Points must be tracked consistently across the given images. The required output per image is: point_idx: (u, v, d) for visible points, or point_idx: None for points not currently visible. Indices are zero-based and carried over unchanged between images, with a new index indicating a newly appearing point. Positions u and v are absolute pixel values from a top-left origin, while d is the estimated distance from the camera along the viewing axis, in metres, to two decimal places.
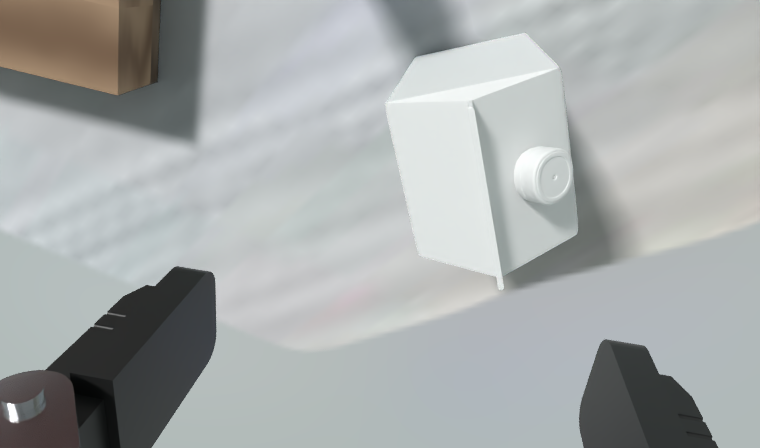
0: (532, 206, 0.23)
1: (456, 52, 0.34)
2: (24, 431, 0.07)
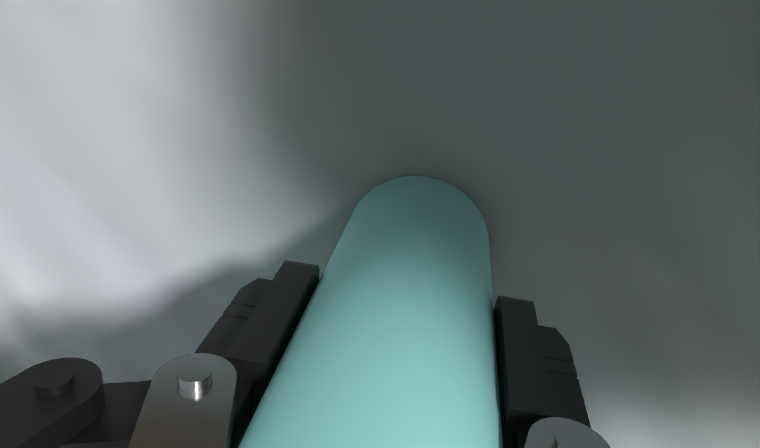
0: None
1: None
2: (188, 409, 0.08)
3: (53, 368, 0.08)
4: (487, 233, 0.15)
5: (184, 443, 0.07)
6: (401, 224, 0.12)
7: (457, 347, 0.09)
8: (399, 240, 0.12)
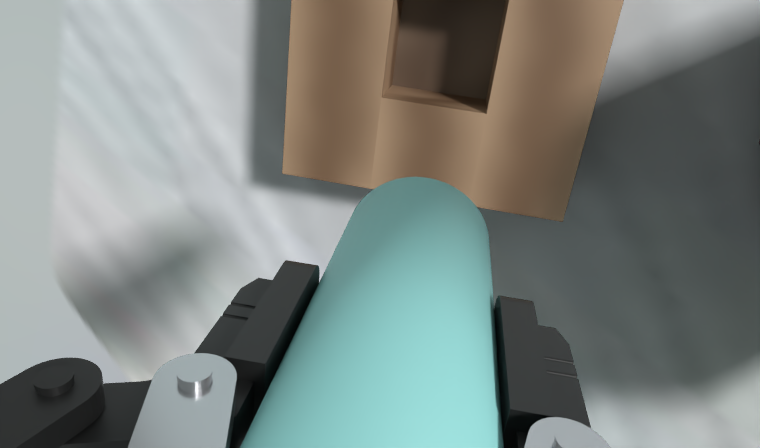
0: None
1: None
2: (188, 409, 0.08)
3: (53, 369, 0.08)
4: (487, 234, 0.15)
5: (185, 443, 0.07)
6: (402, 226, 0.12)
7: (458, 349, 0.09)
8: (399, 242, 0.12)
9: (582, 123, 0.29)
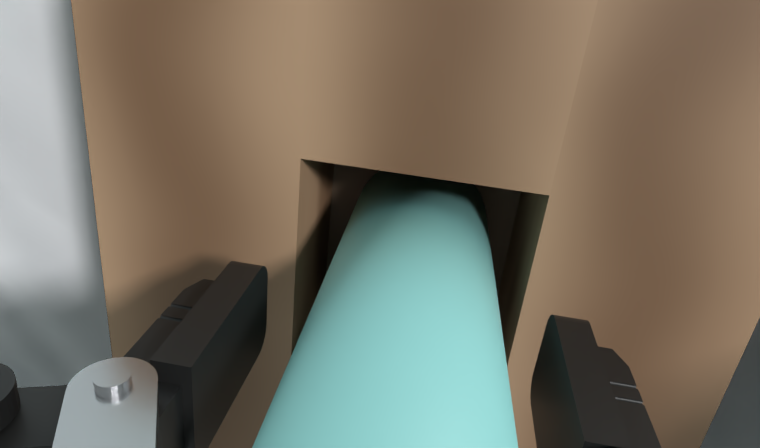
0: None
1: None
2: (110, 414, 0.08)
3: None
4: (485, 210, 0.17)
5: None
6: (411, 196, 0.14)
7: (468, 291, 0.10)
8: (410, 209, 0.13)
9: (696, 420, 0.14)
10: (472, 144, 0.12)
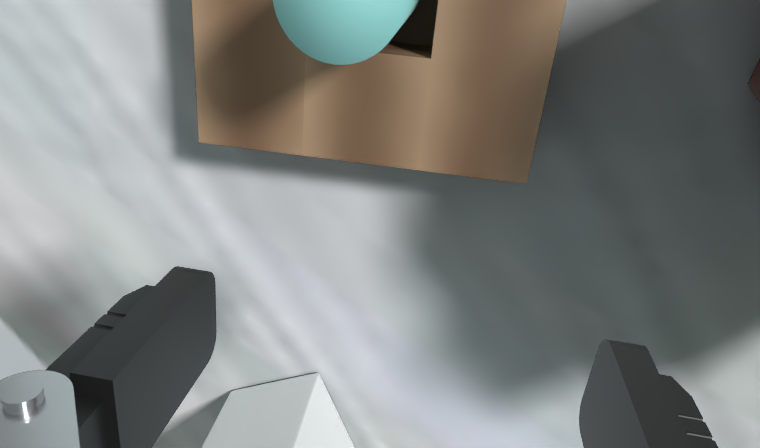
0: None
1: (325, 432, 0.38)
2: (25, 430, 0.07)
3: None
4: None
5: None
6: None
7: None
8: None
9: (543, 65, 0.25)
10: None
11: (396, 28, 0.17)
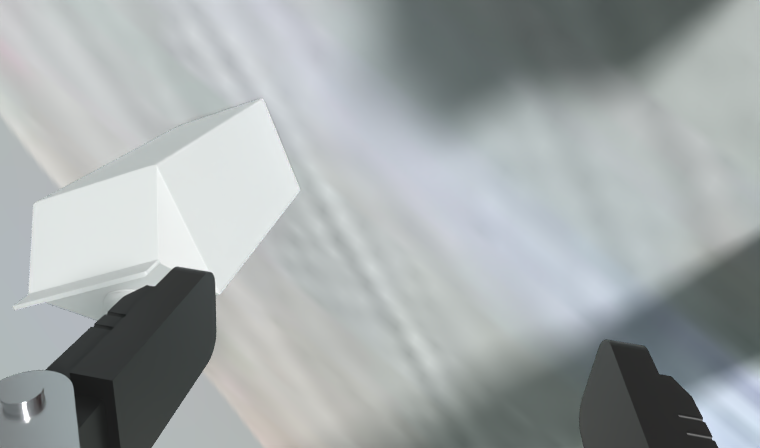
0: (103, 301, 0.27)
1: (266, 146, 0.38)
2: (24, 431, 0.07)
3: None
4: None
5: None
6: None
7: None
8: None
9: None
10: None
11: None
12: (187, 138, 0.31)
